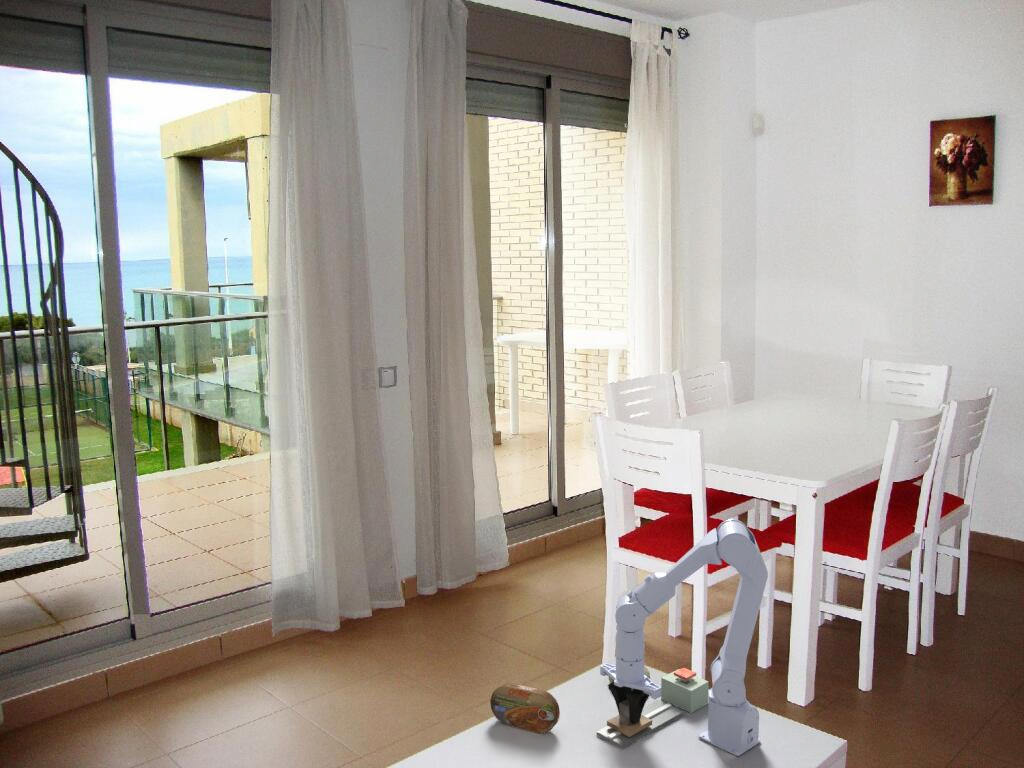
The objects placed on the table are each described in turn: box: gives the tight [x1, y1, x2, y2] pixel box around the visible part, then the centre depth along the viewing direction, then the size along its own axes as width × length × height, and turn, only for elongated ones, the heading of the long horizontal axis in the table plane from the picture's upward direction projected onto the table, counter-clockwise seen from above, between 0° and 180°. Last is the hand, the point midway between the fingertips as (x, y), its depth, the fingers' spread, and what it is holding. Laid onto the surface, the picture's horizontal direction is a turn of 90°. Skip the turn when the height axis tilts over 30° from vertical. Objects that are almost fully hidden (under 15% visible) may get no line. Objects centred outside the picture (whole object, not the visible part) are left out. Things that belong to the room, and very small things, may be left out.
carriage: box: [606, 699, 652, 737], centre depth 184 cm, size 6×7×5 cm
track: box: [596, 699, 684, 750], centre depth 187 cm, size 7×19×1 cm, turn 132°
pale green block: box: [660, 668, 710, 714], centre depth 196 cm, size 8×6×5 cm
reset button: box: [673, 667, 697, 684], centre depth 196 cm, size 3×3×2 cm
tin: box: [490, 682, 561, 734], centre depth 187 cm, size 15×3×8 cm, turn 62°
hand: (629, 718), depth 185 cm, fingers closed on carriage, 2 cm apart
